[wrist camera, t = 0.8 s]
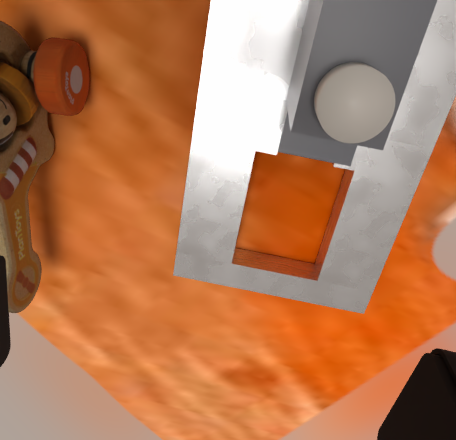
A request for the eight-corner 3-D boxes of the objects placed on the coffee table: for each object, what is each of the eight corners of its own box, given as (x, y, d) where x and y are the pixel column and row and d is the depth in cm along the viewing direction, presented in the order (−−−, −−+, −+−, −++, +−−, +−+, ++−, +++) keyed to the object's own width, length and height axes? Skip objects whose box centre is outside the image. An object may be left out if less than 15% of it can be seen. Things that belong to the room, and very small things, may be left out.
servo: (327, -75, 23) (360, -127, 14) (408, -59, 22) (490, -102, 14) (277, 137, 28) (279, 192, 20) (342, 150, 28) (372, 210, 19)
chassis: (225, -66, 25) (220, -74, 23) (483, -16, 25) (503, -18, 23) (179, 259, 36) (173, 275, 34) (358, 295, 36) (363, 313, 34)
